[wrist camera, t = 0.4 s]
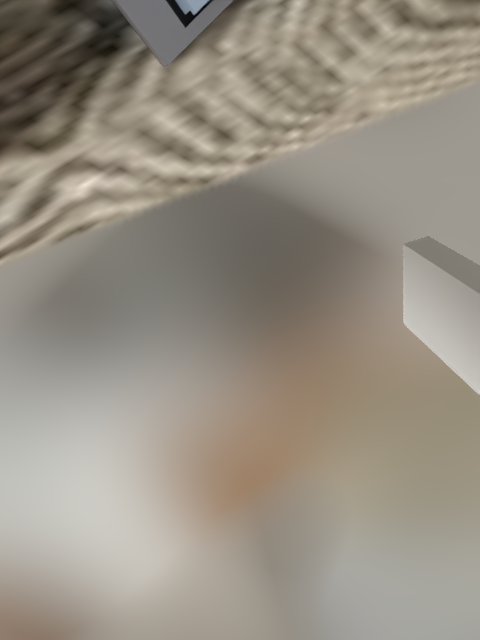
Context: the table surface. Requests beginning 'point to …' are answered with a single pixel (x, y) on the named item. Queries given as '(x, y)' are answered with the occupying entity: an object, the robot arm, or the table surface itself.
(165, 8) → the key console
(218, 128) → the table surface
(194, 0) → the slate blue key
